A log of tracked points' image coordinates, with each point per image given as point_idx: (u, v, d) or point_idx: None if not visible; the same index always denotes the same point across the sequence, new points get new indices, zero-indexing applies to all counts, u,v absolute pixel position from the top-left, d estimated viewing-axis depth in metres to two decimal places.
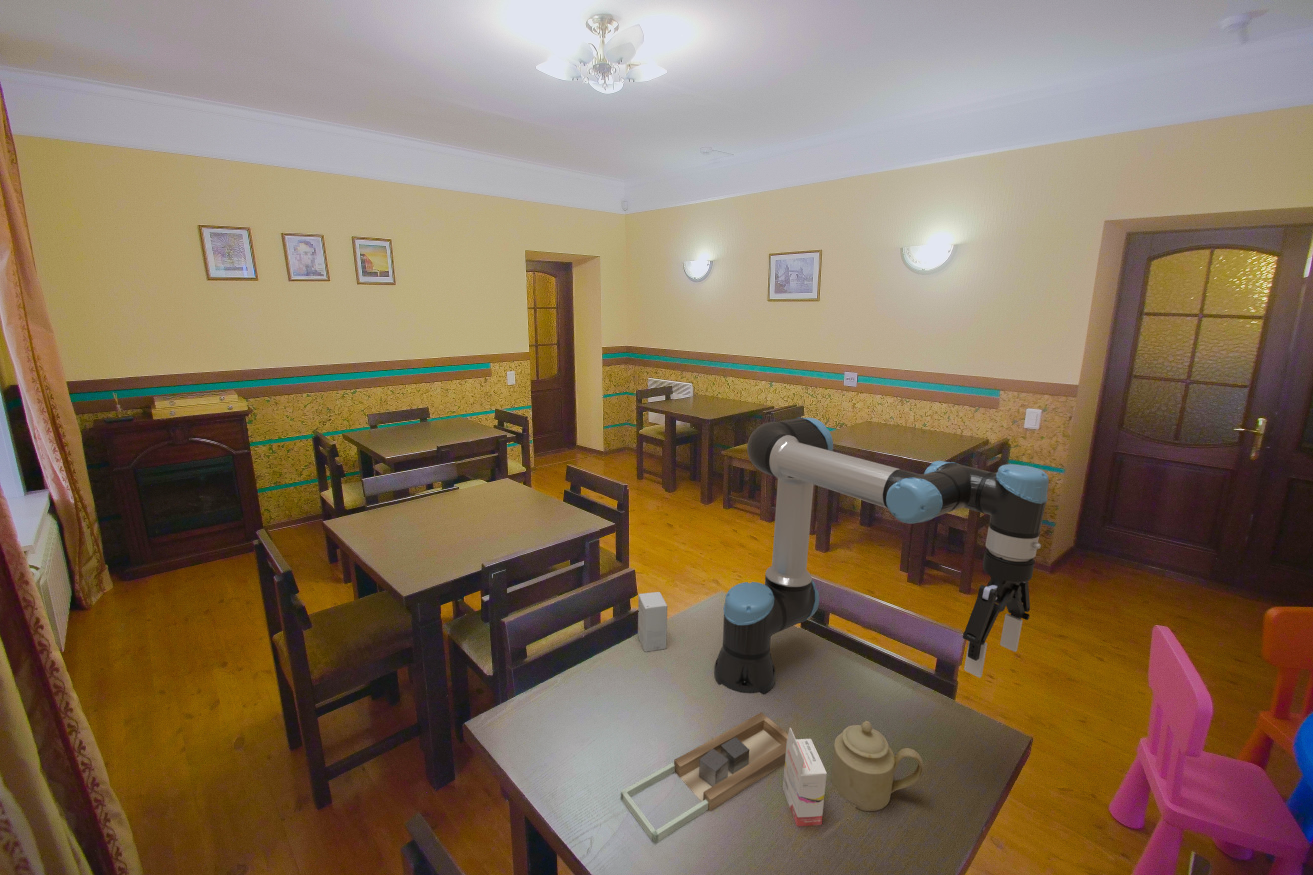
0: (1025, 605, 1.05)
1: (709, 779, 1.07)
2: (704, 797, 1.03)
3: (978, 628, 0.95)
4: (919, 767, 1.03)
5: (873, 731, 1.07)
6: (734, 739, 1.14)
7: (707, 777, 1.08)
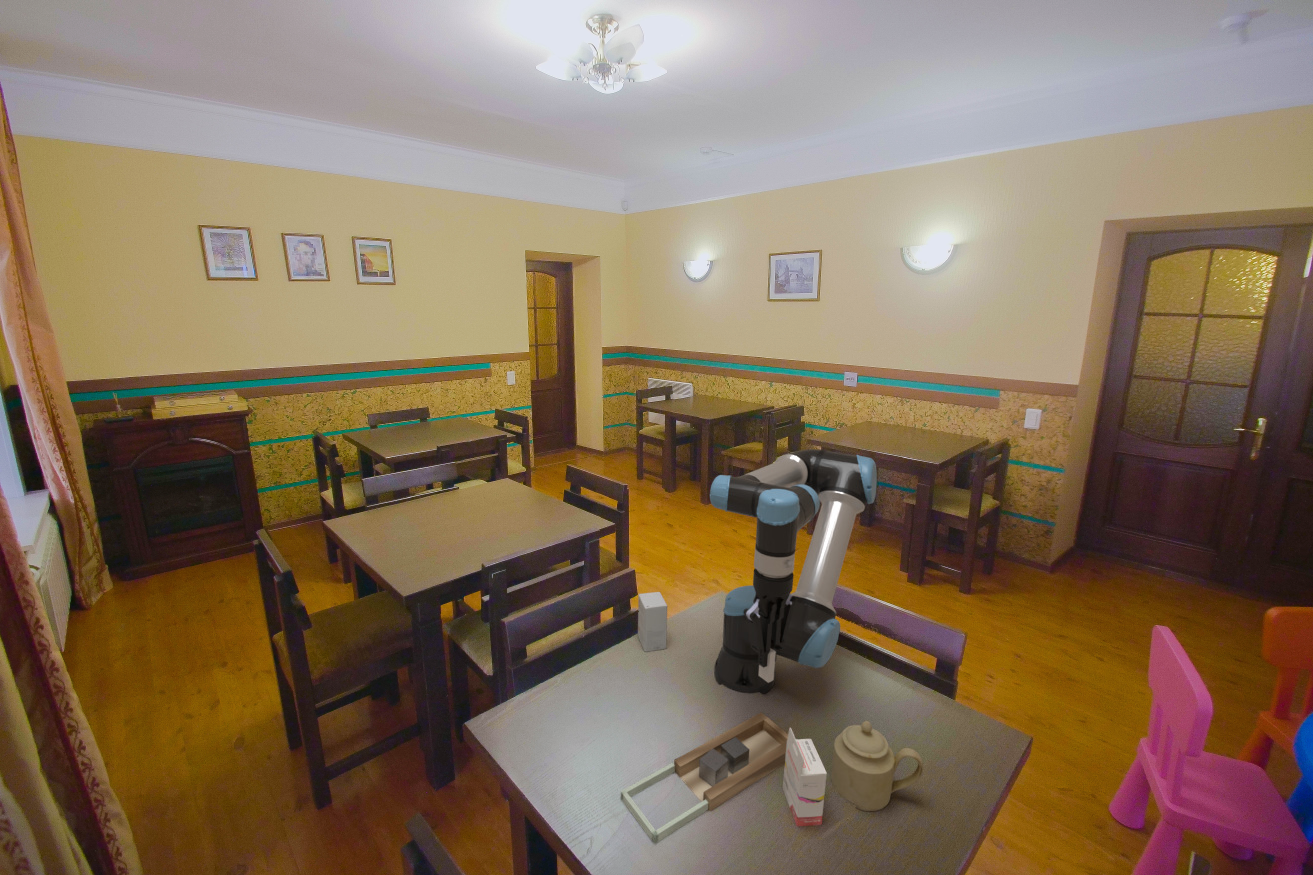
0: (782, 633, 1.11)
1: (709, 779, 1.07)
2: (704, 797, 1.03)
3: (756, 642, 1.08)
4: (919, 767, 1.03)
5: (873, 731, 1.07)
6: (734, 739, 1.14)
7: (707, 777, 1.08)
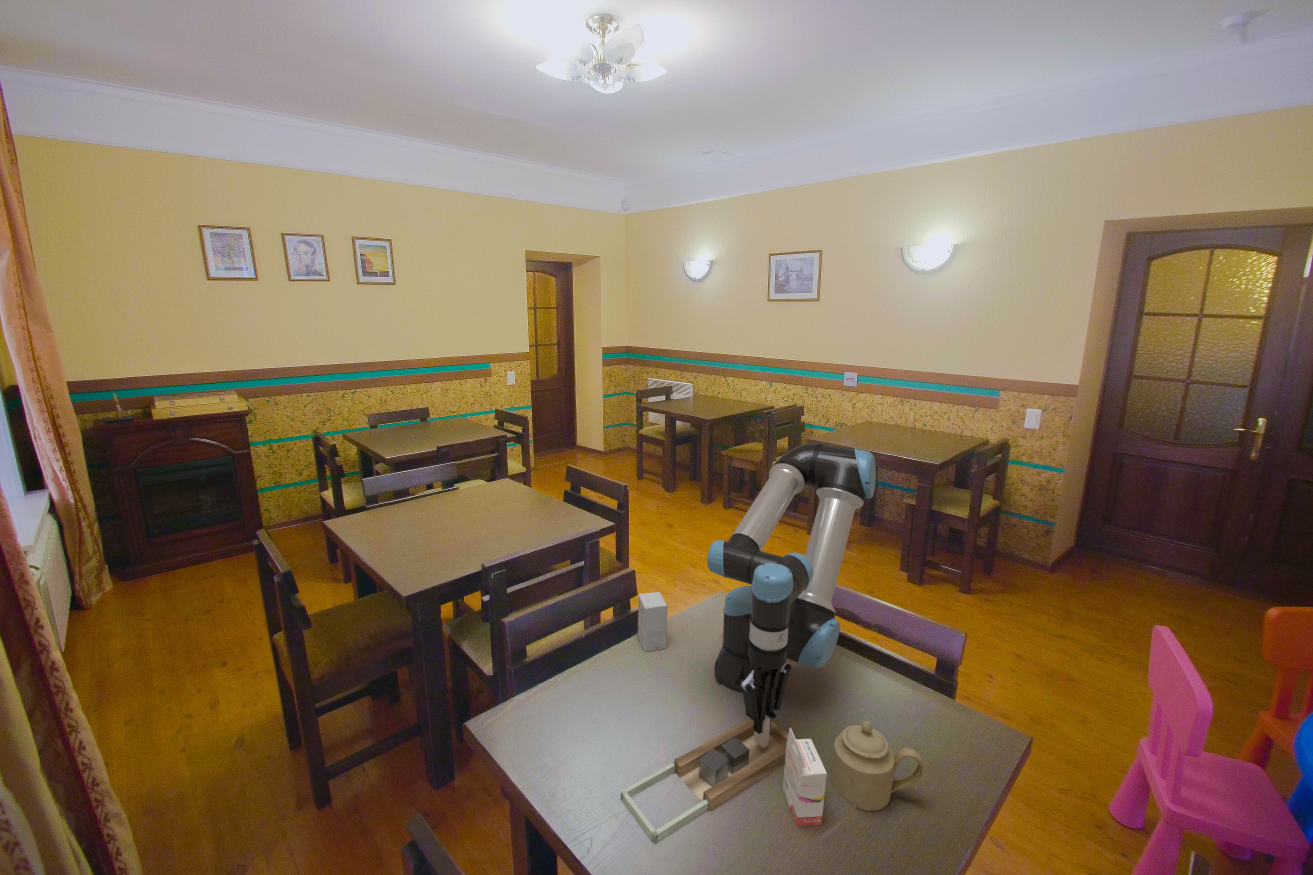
0: (777, 700, 1.15)
1: (709, 779, 1.07)
2: (704, 797, 1.03)
3: (751, 711, 1.11)
4: (919, 767, 1.03)
5: (873, 731, 1.07)
6: (734, 739, 1.14)
7: (707, 777, 1.08)
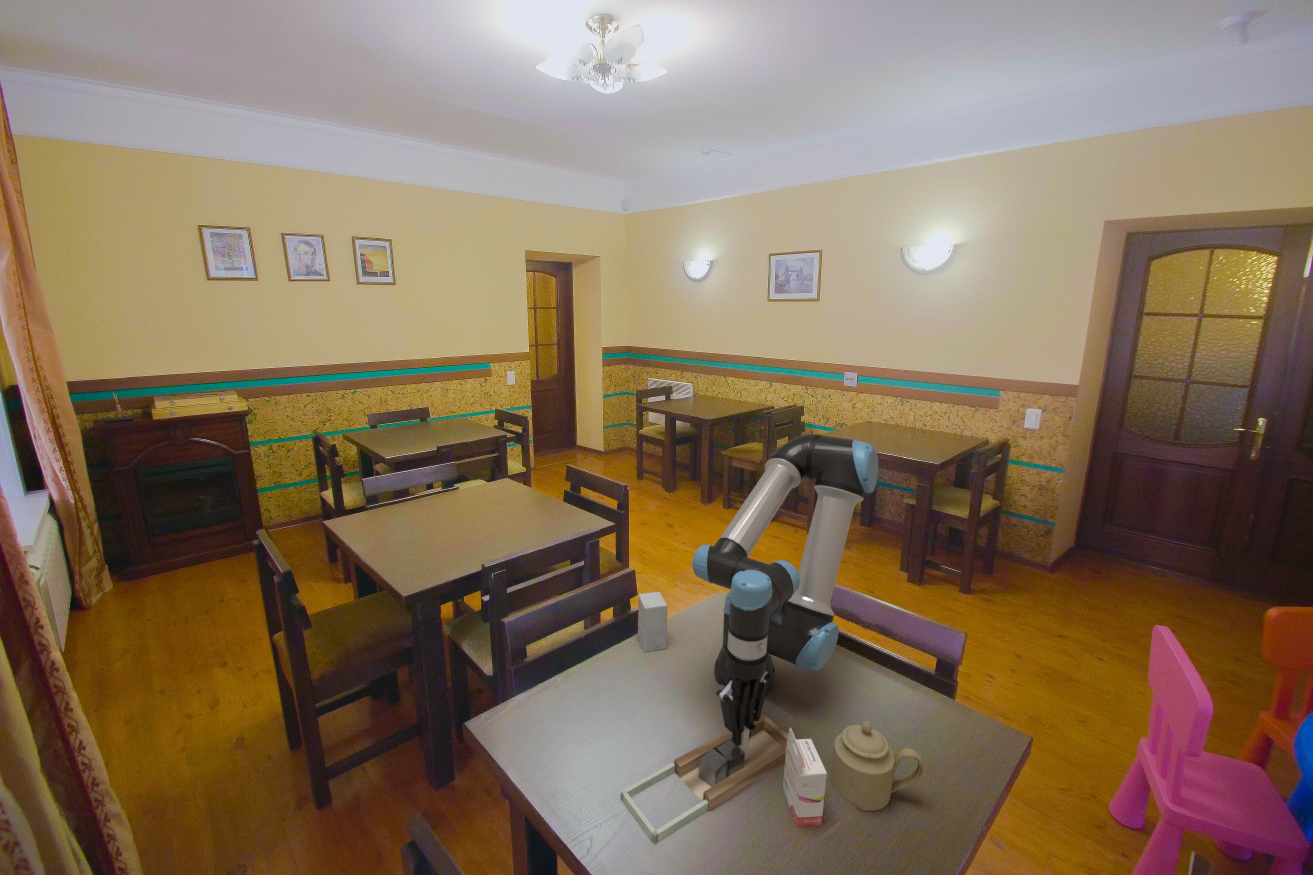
0: (756, 711, 1.12)
1: (709, 779, 1.07)
2: (704, 797, 1.03)
3: (729, 723, 1.08)
4: (919, 767, 1.03)
5: (873, 731, 1.07)
6: (729, 741, 1.13)
7: (707, 777, 1.08)
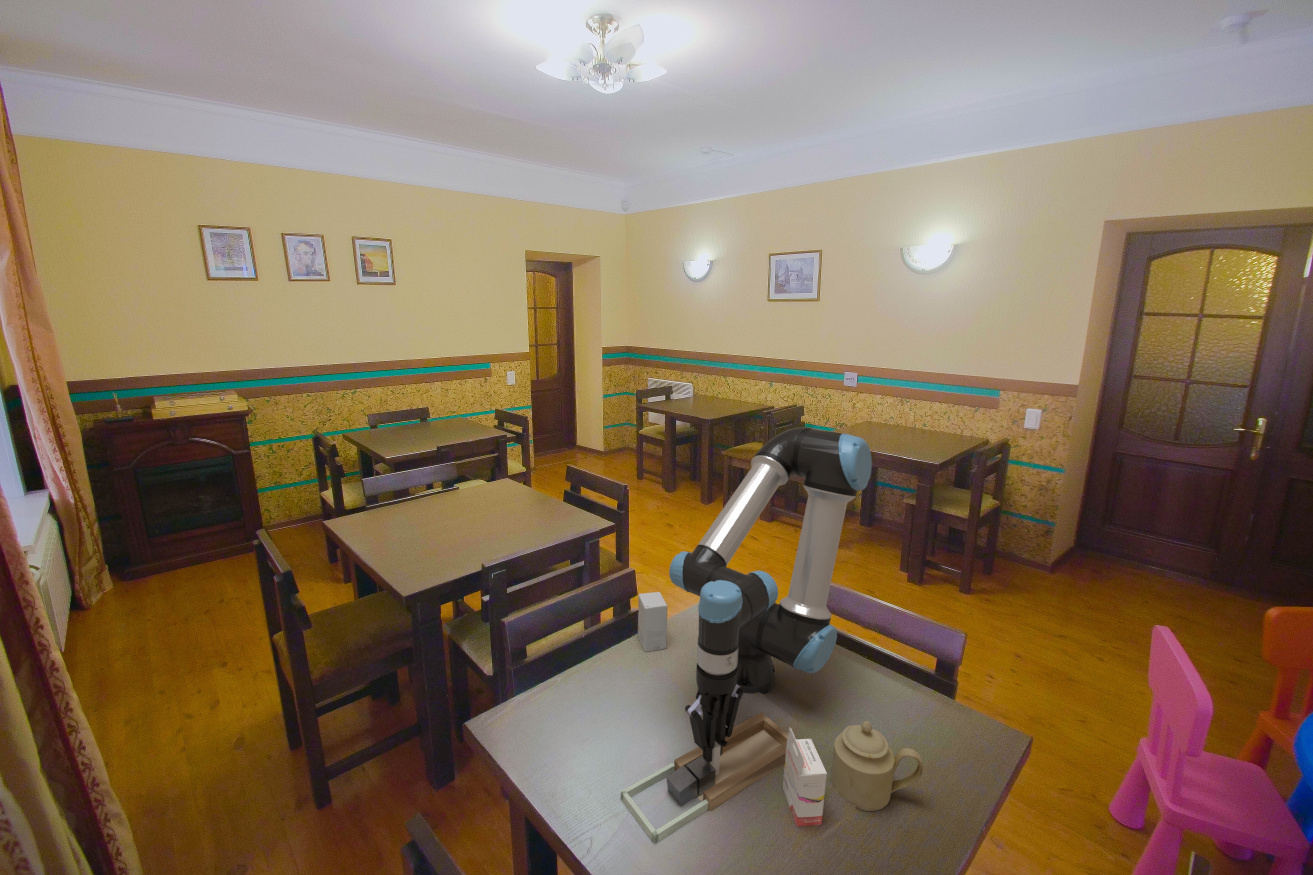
0: (728, 726, 1.07)
1: (676, 798, 1.04)
2: (704, 797, 1.03)
3: (699, 739, 1.04)
4: (919, 767, 1.03)
5: (873, 731, 1.07)
6: (700, 758, 1.09)
7: (674, 796, 1.04)
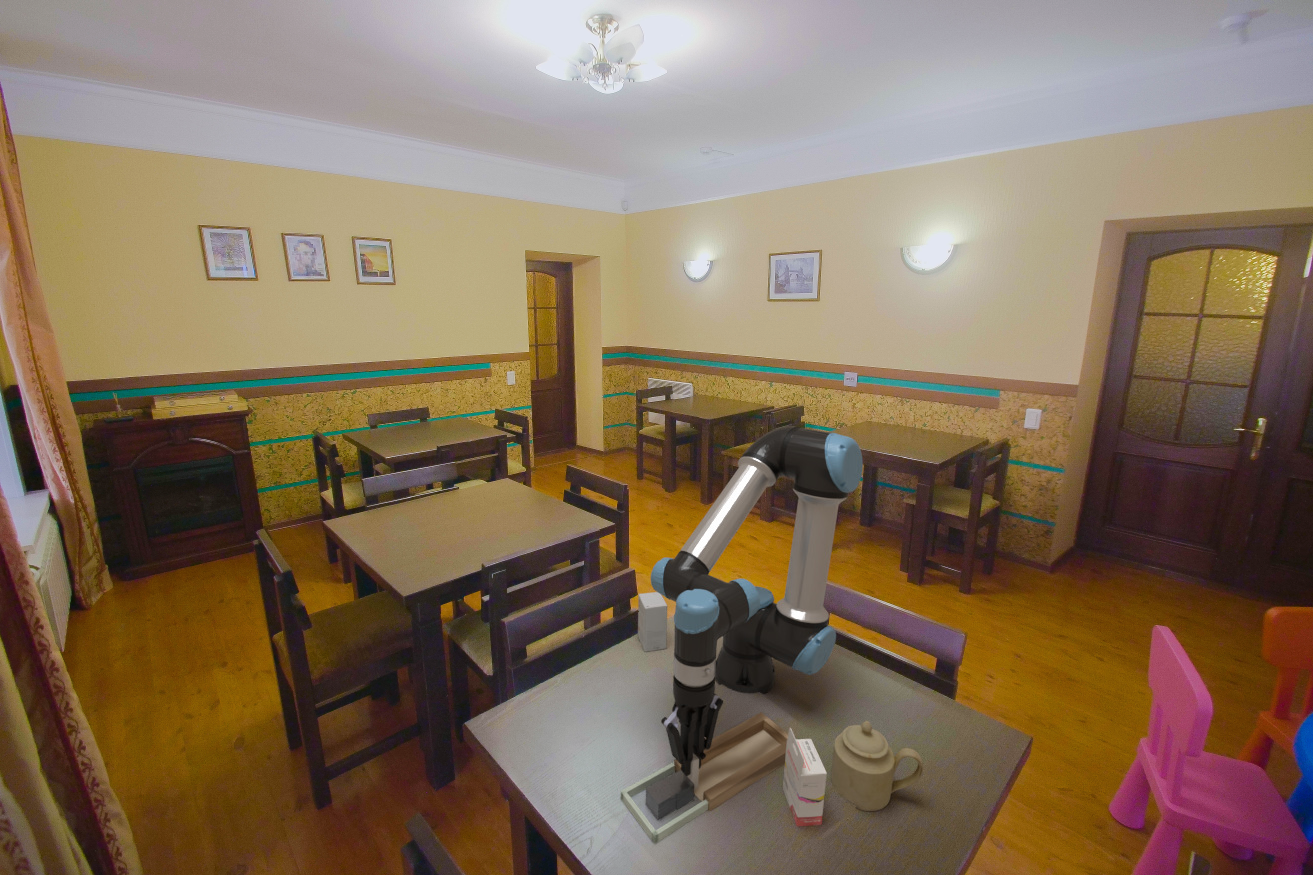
0: (707, 738, 1.04)
1: (653, 811, 1.01)
2: (704, 797, 1.03)
3: (676, 752, 1.01)
4: (919, 767, 1.03)
5: (873, 731, 1.07)
6: (679, 772, 1.06)
7: (652, 809, 1.01)
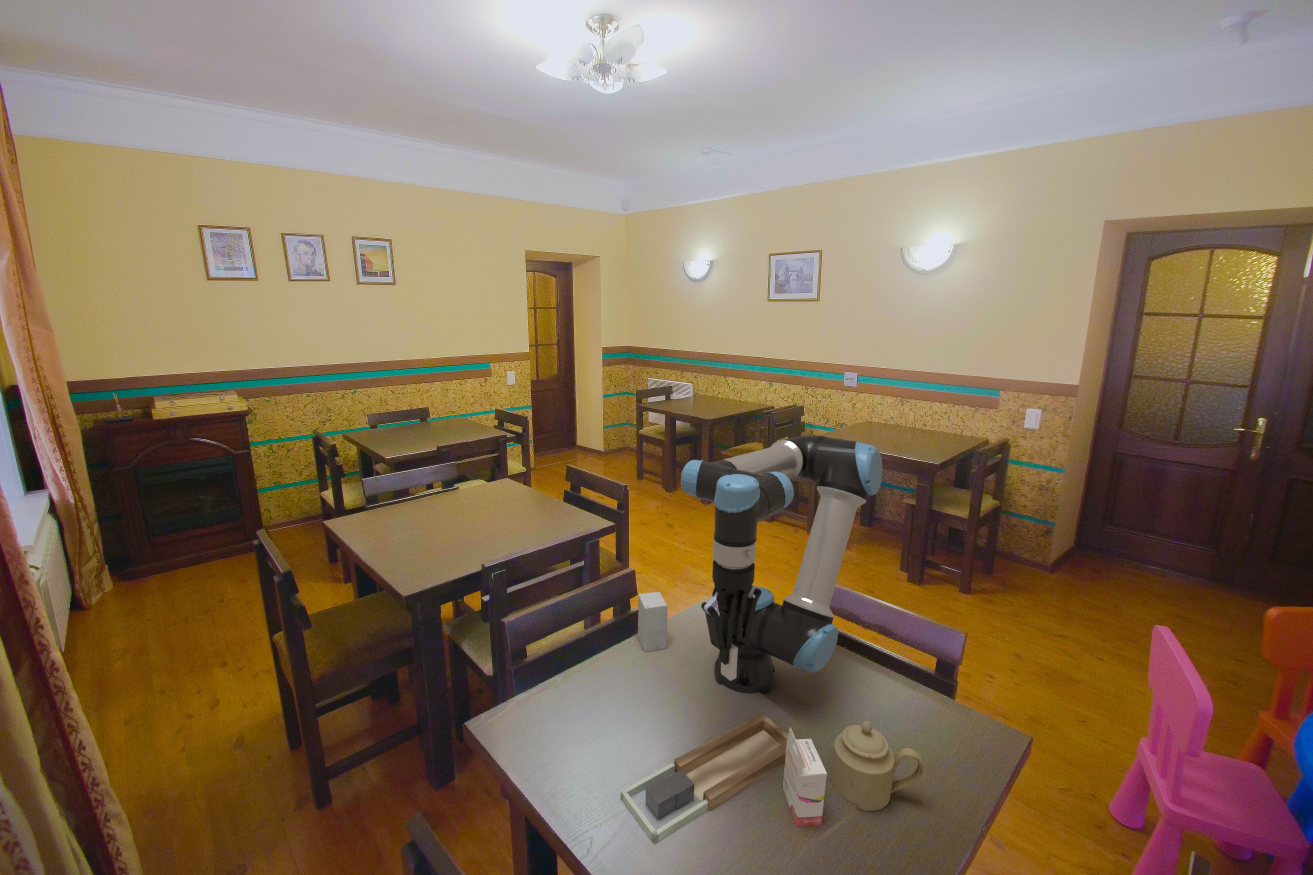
0: (745, 628, 1.05)
1: (653, 811, 1.01)
2: (704, 797, 1.03)
3: (715, 638, 1.01)
4: (919, 767, 1.03)
5: (873, 731, 1.07)
6: (679, 772, 1.06)
7: (652, 809, 1.01)
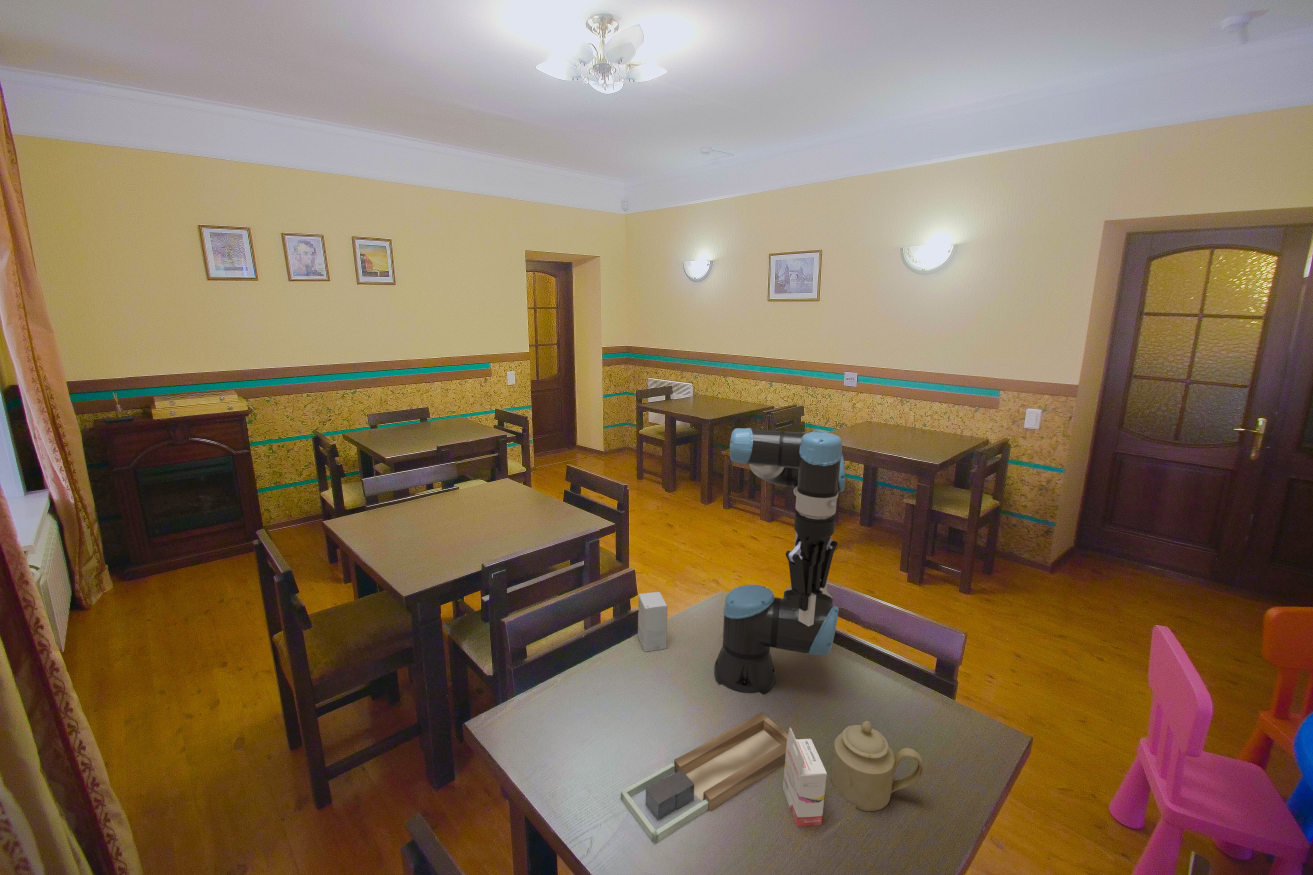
0: (822, 577, 1.12)
1: (653, 811, 1.01)
2: (704, 797, 1.03)
3: (798, 585, 1.09)
4: (919, 767, 1.03)
5: (873, 731, 1.07)
6: (679, 772, 1.06)
7: (652, 809, 1.01)
